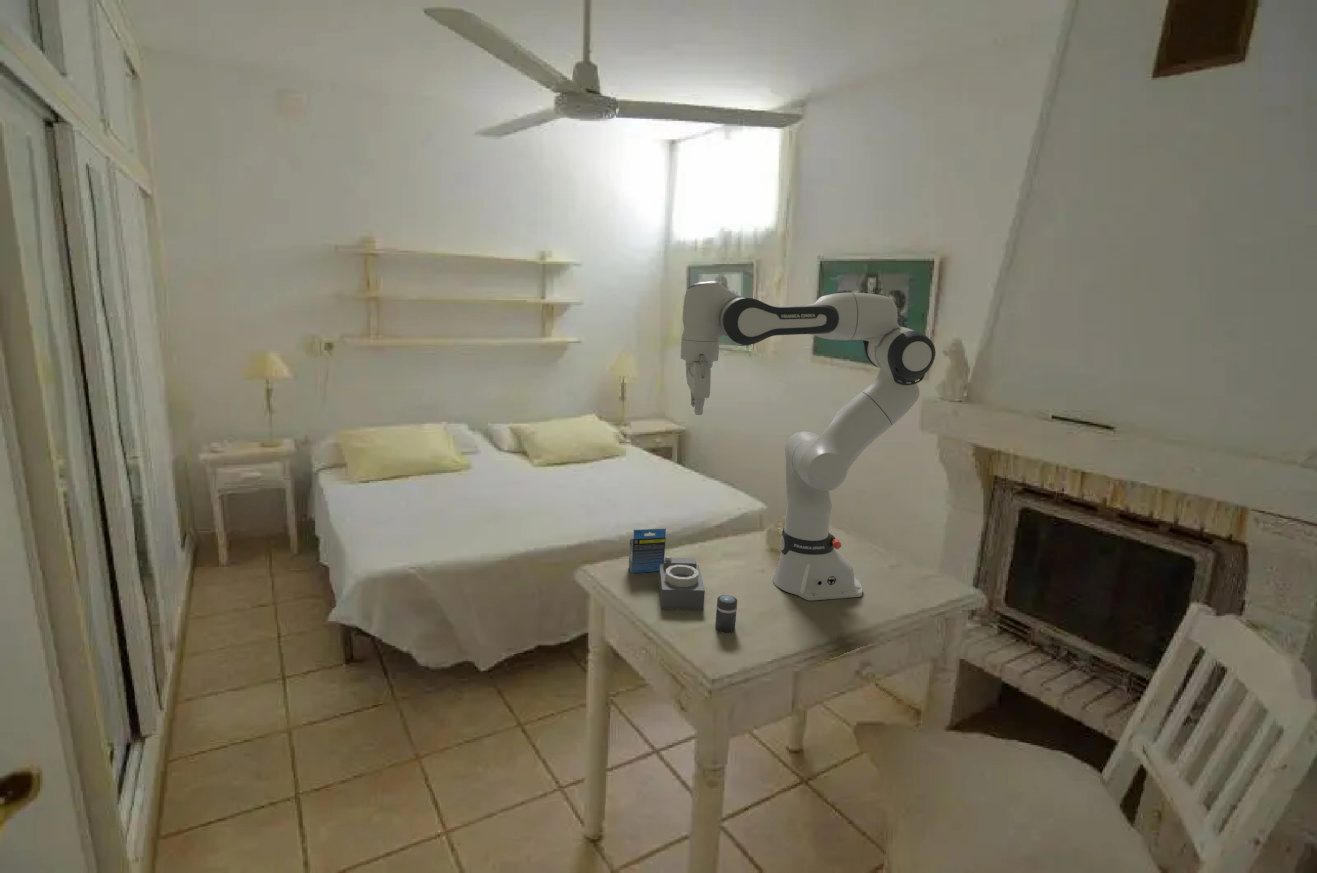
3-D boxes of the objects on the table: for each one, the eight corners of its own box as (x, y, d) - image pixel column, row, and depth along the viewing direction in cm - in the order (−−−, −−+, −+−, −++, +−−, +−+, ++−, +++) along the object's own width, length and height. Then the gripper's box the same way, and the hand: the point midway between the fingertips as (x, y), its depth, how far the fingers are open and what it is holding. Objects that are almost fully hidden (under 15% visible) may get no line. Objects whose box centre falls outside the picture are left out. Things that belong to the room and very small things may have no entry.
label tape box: (660, 565, 179) (662, 522, 176) (664, 572, 175) (666, 528, 172) (628, 567, 176) (630, 524, 173) (631, 574, 172) (633, 530, 170)
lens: (733, 623, 151) (735, 594, 149) (736, 633, 146) (739, 604, 144) (713, 622, 150) (715, 594, 149) (716, 633, 146) (718, 603, 144)
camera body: (697, 582, 169) (699, 555, 168) (703, 610, 156) (705, 580, 154) (658, 582, 169) (660, 554, 167) (661, 609, 155) (662, 579, 153)
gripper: (718, 358, 144) (714, 420, 148) (708, 347, 164) (705, 402, 168) (689, 357, 144) (686, 419, 147) (683, 346, 164) (680, 401, 167)
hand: (696, 410), depth 158 cm, fingers open, 8 cm apart
